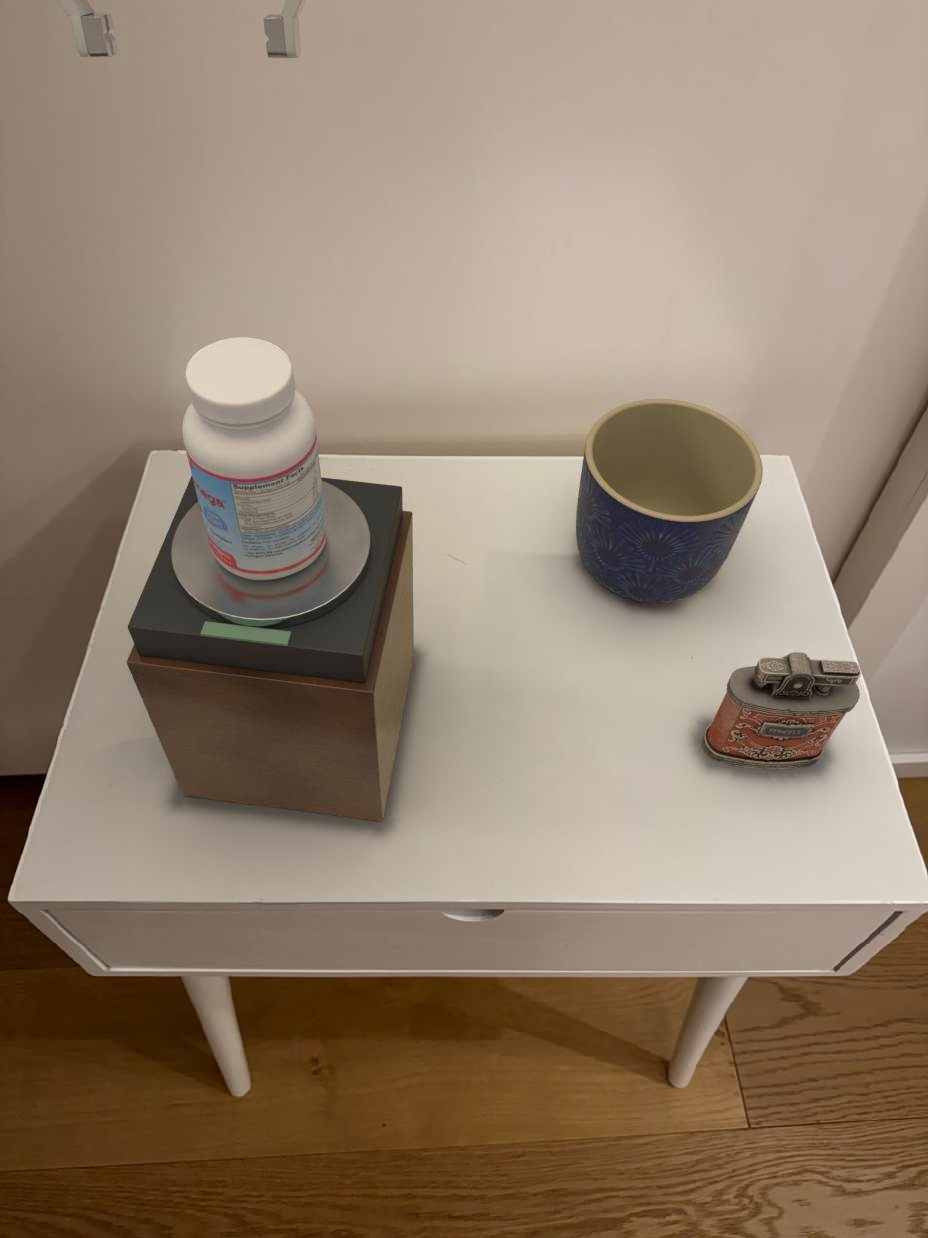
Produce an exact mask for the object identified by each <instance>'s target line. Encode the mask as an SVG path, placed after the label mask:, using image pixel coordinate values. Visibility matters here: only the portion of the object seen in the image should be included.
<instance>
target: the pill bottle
mask: <svg viewBox="0 0 928 1238" xmlns="http://www.w3.org/2000/svg"><path fill="white" fill-rule="evenodd" d="M184 375H185V383H186V387H187V390H188V391H187V395H188V400H189V402H190V404H189V405H188V407H187V409H186V411H185V413H184V416H183V420H182V426H181V427H182V429H181V430H182V433H181V434H182V439H183V440H182V441H183V445H184V449H185V453H186V458H187V460H188V464H189V469H190V473H191V476H192V477H193V481H194V485H195V489H196V493H197V497H198V501H199V505H200V509H201V513H202V517H203V521H204V524H205V528H206V532H207V536H208V540H209V543H210V547H211V550H212V552H213V554H214V556H215V558H216V559H217V561H218V562H219V563H220V564H221V565H222V566H223V567H224V568H225V569H227V570H228V571H230V572H232V573H233V574H235V575H238V576H240V577H243V578H247V579H252V580H272V579H278V578H282V577H285V576H288V575H291V574H294V573H296V572H298V571H300V570H302V569H304V568H305V567H307V566H308V565H310V564H311V563H312V562H313V561H314V560H315V559H316V558H317V557H318V556H319V554H320V553H321V551H322V549H323V547H324V545H325V541H326V535H327V527H326V516H325V507H324V499H323V489H322V480H321V477H322V473H321V463H320V454H319V447H318V446H319V444H318V436H317V428H316V421H315V417H314V413H313V410H312V408H311V406H310V405H309V402H308V401H307V400H306V399H305V397H304V396H303V395H302V394H301V393H300V392H299V391H298V390H297V387H296V385H297V384H296V381H295V375H294V369H293V365H292V362H291V360H290V357H289V356H288V354H287V353H286V352H285V351H284V350H283V349H282V348H280V346H277V345H276V344H274V343H272V342H270V341H267V340H264V339H261V338H257V337H256V338H255V337H247V336H245V337H244V336H243V337H242V336H241V337H240V336H239V337H229V338H224V339H223V338H222V339H219V340H217V341H214V342H211V343H209V344H207V345H206V346H203V347H202V348H201V349H199V350H198V351H197V352H196V353H194V354H193V355H192V357H191V358H190V359H189V360H188V362H187V364H186V368H185V373H184Z"/></svg>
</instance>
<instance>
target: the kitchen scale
mask: <svg viewBox="0 0 928 1238" xmlns="http://www.w3.org/2000/svg"><path fill="white" fill-rule="evenodd" d="M321 480H322V489H323V499H324V507H325V516H326V527H327V535H326V541H325V545H324V547H323V549H322V551H321V553H320V554H319V556H318V557H317V558H316V559H315V560H314V561H313V562H312V563H311V564H310V565H308V566H307V567H305V568H304V569H302V570H300V571H298V572H296V573H294V574H291V575H288V576H285V577H282V578H278V579H272V580H252V579H247V578H243V577H240V576H238V575H235V574H233V573H232V572H230V571H228V570H227V569H225V568H224V567H223V566H222V565H221V564H220V563H219V562H218V561H217V559H216V558H215V556H214V554H213V552H212V550H211V547H210V543H209V540H208V536H207V532H206V528H205V524H204V521H203V517H202V513H201V509H200V505H199V501H198V497H197V493H196V489H195V485H194V481H193V477H192V475H191V476H190V478H189V481H188V483H187V486H186V488H185V490H184V492H183V495H182V497H181V500H180V502H179V504H178V506H177V509H176V511H175V514H174V516H173V518H172V520H171V523H170V525H169V528H168V530H167V531H166V532H167V533H166V534H165V537H164V539H163V541H162V545H161V547H160V549H159V551H158V554H157V556H156V558H155V561H154V563H153V566H152V568H151V570H150V572H149V575H148V578H147V580H146V582H145V584H144V587H143V589H142V592H141V594H140V596H139V599H138V601H137V603H136V606H135V607H134V610H133V612H132V615H131V617H130V620H129V621H128V623H127V630H128V633H129V635H130V638H131V640H132V643H133V645H135V647H136V650H137V652H138V655H140V656H149V657H157V658H165V659H173V660H181V661H189V662H197V663H206V664H214V665H222V666H230V667H238V668H246V669H254V670H263V671H271V672H279V673H287V674H295V675H303V676H311V677H320V678H328V679H336V680H344V681H352V682H360V683H365V682H366V680H367V675H368V671H369V666H370V662H371V657H372V653H373V648H374V644H375V639H376V635H377V630H378V626H379V621H380V617H381V612H382V608H383V603H384V599H385V594H386V590H387V585H388V581H389V576H390V572H391V567H392V563H393V558H394V554H395V549H396V545H397V540H398V536H399V531H400V527H401V522H402V518H403V511H404V510H403V509H404V506H403V503H404V502H403V487H402V486H400V485H392V484H384V483H375V482H367V481H357V480H349V479H341V478H340V479H339V478H333V477H332V478H331V477H322V476H321Z"/></svg>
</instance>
